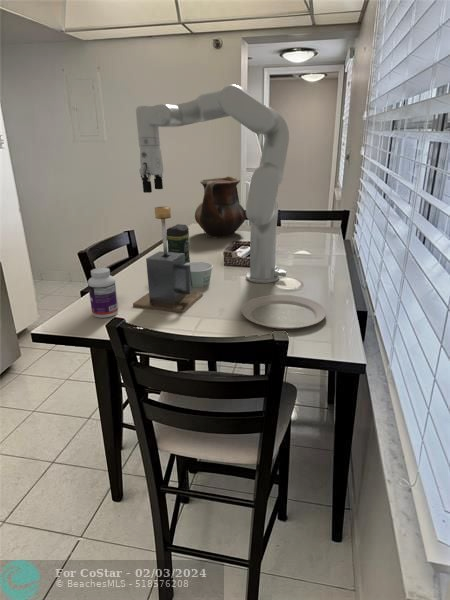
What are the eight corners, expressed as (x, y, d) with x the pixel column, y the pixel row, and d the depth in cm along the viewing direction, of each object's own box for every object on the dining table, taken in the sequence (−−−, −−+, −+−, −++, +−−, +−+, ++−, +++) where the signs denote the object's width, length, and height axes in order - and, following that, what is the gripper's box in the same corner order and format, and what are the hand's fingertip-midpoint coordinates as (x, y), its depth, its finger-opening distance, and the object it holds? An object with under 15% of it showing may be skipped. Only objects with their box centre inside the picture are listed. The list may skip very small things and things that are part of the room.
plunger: (179, 268, 140) (176, 206, 133) (171, 274, 135) (167, 210, 127) (162, 266, 142) (158, 205, 135) (153, 272, 137) (148, 209, 129)
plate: (314, 299, 143) (315, 293, 142) (335, 332, 119) (336, 326, 118) (238, 301, 142) (238, 295, 141) (244, 335, 118) (244, 329, 117)
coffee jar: (183, 274, 169) (181, 228, 162) (165, 272, 171) (162, 227, 164) (193, 267, 177) (191, 223, 170) (175, 266, 179) (173, 222, 173)
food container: (206, 289, 152) (205, 272, 150) (176, 286, 156) (175, 269, 154) (218, 279, 163) (217, 263, 160) (189, 276, 167) (188, 260, 164)
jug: (201, 228, 249) (199, 175, 238) (248, 228, 246) (248, 175, 235) (189, 241, 220) (186, 181, 209) (242, 242, 216) (242, 181, 205)
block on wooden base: (202, 295, 147) (201, 251, 141) (183, 313, 133) (180, 265, 127) (156, 290, 152) (152, 247, 147) (133, 306, 138) (128, 260, 133)
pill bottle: (95, 309, 136) (89, 266, 131) (120, 308, 137) (115, 265, 132) (90, 319, 129) (83, 274, 124) (116, 318, 130) (111, 273, 124)
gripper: (148, 143, 146) (152, 194, 152) (168, 141, 162) (171, 188, 168) (128, 143, 148) (133, 193, 155) (150, 142, 164) (154, 187, 170)
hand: (153, 190), depth 161 cm, fingers open, 9 cm apart
